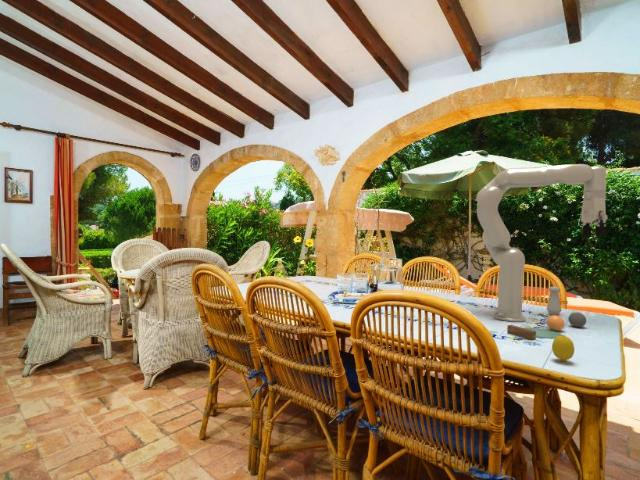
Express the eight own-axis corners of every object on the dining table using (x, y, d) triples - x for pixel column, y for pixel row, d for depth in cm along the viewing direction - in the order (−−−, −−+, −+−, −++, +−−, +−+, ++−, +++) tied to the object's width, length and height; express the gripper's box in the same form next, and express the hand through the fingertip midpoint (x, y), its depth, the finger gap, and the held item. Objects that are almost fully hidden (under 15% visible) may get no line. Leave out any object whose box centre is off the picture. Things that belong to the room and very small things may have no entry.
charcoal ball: (580, 329, 147) (580, 314, 146) (564, 326, 152) (565, 311, 152) (589, 328, 149) (589, 313, 149) (573, 324, 155) (574, 310, 154)
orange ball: (558, 333, 141) (558, 317, 141) (543, 329, 146) (543, 314, 146) (568, 331, 143) (568, 316, 143) (552, 328, 149) (553, 313, 149)
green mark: (546, 340, 132) (546, 339, 132) (511, 330, 144) (511, 329, 144) (570, 335, 137) (570, 335, 137) (535, 326, 150) (535, 326, 150)
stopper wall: (532, 340, 131) (532, 331, 131) (507, 333, 140) (507, 325, 140) (535, 339, 132) (536, 331, 132) (510, 332, 141) (511, 324, 141)
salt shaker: (564, 315, 171) (564, 287, 171) (551, 315, 171) (552, 287, 171) (556, 313, 177) (556, 286, 177) (544, 312, 177) (544, 285, 177)
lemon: (577, 365, 107) (578, 338, 106) (556, 363, 108) (557, 336, 107) (568, 359, 112) (569, 332, 112) (548, 357, 113) (549, 331, 113)
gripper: (574, 197, 167) (573, 235, 167) (596, 194, 150) (595, 236, 150) (592, 197, 165) (591, 235, 166) (617, 193, 148) (615, 236, 149)
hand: (593, 236), depth 158 cm, fingers open, 9 cm apart
